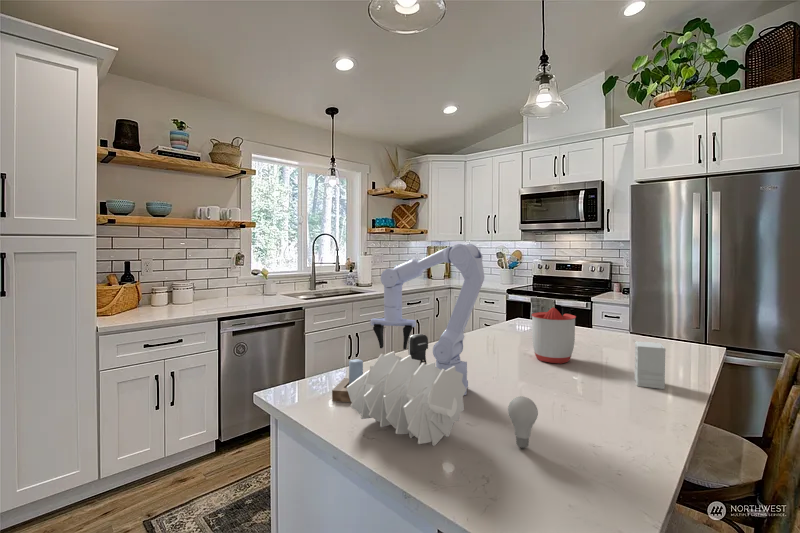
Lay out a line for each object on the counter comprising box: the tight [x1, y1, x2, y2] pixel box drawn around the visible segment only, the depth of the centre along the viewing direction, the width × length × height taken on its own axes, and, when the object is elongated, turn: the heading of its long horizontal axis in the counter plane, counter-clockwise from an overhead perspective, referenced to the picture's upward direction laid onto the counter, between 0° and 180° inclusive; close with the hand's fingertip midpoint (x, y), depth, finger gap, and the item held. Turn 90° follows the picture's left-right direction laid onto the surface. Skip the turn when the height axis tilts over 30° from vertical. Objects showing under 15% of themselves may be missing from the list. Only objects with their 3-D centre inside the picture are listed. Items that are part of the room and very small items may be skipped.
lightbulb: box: [507, 395, 539, 449], centre depth 86 cm, size 6×6×11 cm
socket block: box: [331, 377, 352, 403], centre depth 117 cm, size 11×11×3 cm
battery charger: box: [407, 333, 429, 365], centre depth 145 cm, size 7×4×11 cm, turn 125°
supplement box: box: [634, 340, 667, 390], centre depth 125 cm, size 7×7×13 cm
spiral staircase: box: [347, 350, 466, 447], centre depth 94 cm, size 18×18×25 cm
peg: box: [348, 358, 364, 385], centre depth 117 cm, size 4×4×10 cm
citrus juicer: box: [531, 306, 577, 365], centre depth 153 cm, size 16×17×20 cm
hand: (393, 348), depth 130 cm, fingers open, 7 cm apart
